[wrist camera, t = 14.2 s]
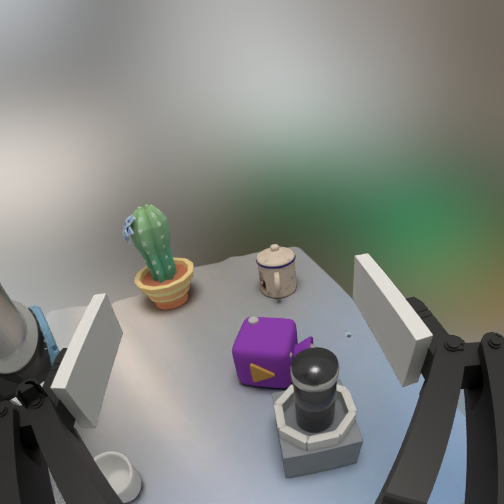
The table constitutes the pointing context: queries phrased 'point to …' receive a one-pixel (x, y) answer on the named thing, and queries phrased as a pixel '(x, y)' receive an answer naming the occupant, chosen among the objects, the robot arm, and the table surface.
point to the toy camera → (267, 351)
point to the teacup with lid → (277, 271)
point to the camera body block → (317, 436)
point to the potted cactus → (158, 259)
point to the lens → (315, 388)
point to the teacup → (119, 474)
